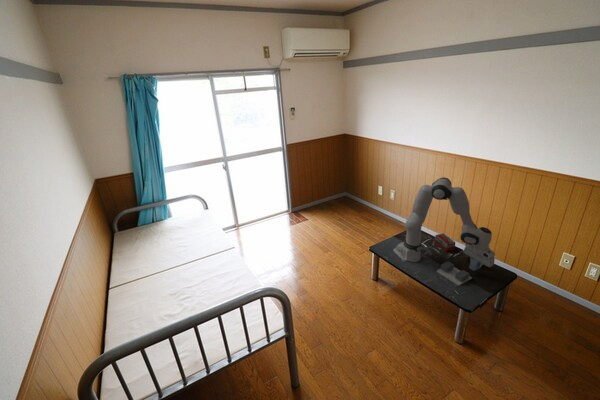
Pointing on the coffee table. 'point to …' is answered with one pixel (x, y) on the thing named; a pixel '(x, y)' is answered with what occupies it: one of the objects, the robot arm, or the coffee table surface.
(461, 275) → the board
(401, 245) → the robot arm
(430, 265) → the coffee table surface
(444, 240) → the medicine box
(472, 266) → the block
